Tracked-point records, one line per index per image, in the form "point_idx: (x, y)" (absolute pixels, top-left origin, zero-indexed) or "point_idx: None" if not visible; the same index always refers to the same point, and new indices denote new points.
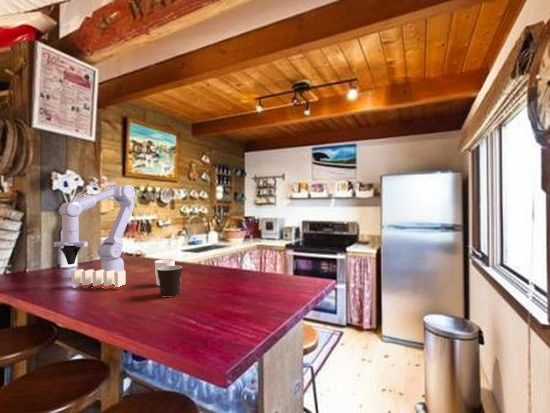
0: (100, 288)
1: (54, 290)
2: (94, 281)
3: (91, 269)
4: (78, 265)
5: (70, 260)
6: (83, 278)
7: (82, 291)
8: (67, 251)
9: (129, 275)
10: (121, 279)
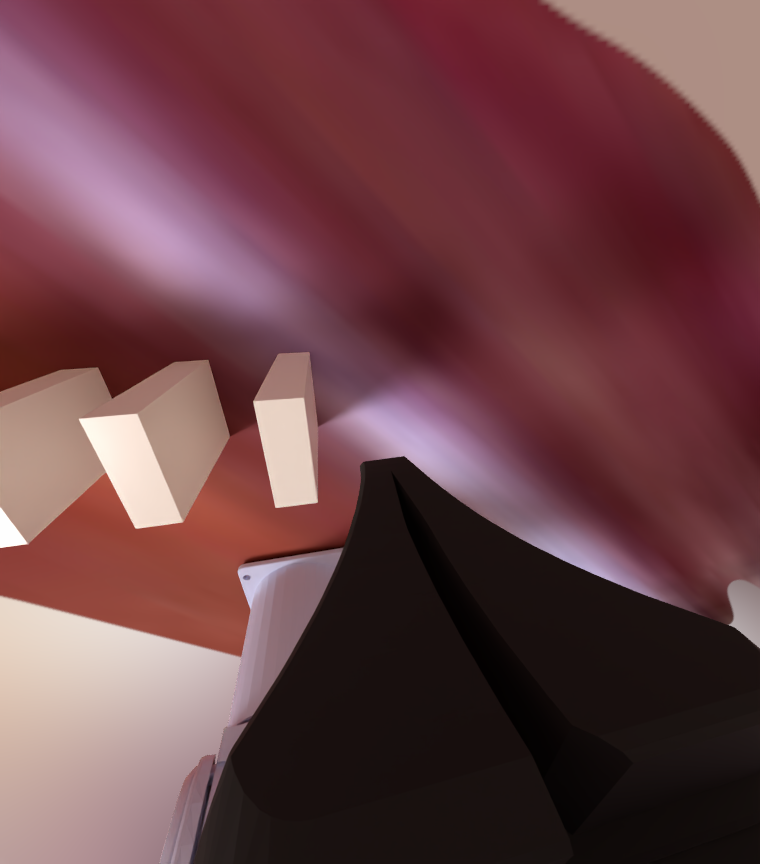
0: None
1: (389, 272)
2: (23, 390)
3: (157, 518)
4: None
5: (360, 494)
6: (153, 386)
7: (105, 289)
8: (422, 635)
9: None
10: None
